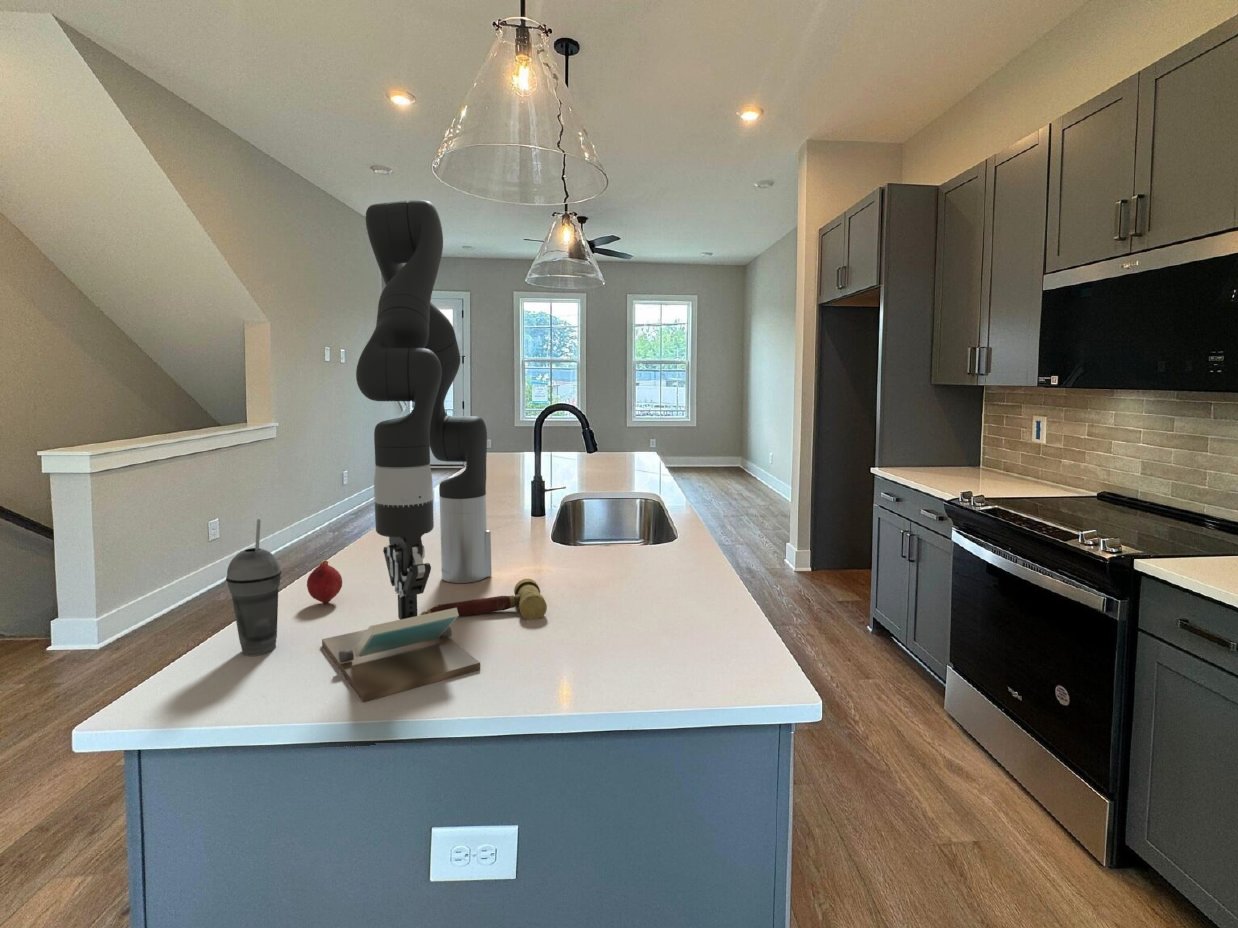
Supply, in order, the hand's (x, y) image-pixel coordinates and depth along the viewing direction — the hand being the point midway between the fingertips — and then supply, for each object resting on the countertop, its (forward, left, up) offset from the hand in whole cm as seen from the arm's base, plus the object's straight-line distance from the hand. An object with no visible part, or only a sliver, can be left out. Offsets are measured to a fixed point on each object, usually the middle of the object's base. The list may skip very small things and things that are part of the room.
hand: (408, 619), depth 91 cm
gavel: (-18, -15, -8) cm, 25 cm away
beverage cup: (+16, -21, -8) cm, 27 cm away
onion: (+3, -37, -8) cm, 38 cm away
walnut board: (0, -6, -7) cm, 9 cm away
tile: (0, -2, -2) cm, 3 cm away
